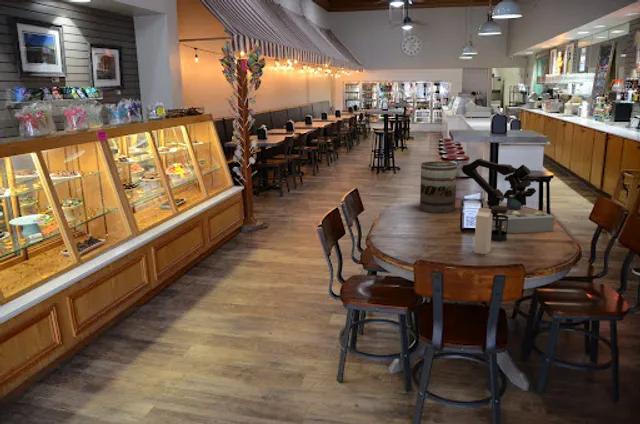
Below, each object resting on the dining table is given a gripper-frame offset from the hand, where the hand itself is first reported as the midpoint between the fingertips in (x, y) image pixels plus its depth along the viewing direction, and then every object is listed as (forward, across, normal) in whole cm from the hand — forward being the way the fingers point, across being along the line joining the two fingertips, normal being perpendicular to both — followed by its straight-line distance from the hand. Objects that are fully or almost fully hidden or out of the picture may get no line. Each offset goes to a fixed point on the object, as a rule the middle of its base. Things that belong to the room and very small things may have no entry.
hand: (525, 205), depth 301 cm
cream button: (+9, -11, -2) cm, 14 cm away
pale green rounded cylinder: (+12, 0, -6) cm, 14 cm away
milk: (+35, -53, -20) cm, 67 cm away
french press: (+23, -34, -8) cm, 42 cm away
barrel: (-24, -32, +40) cm, 57 cm away
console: (+17, -12, -3) cm, 21 cm away
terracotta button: (+10, -22, -3) cm, 24 cm away
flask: (-13, +14, +28) cm, 34 cm away
